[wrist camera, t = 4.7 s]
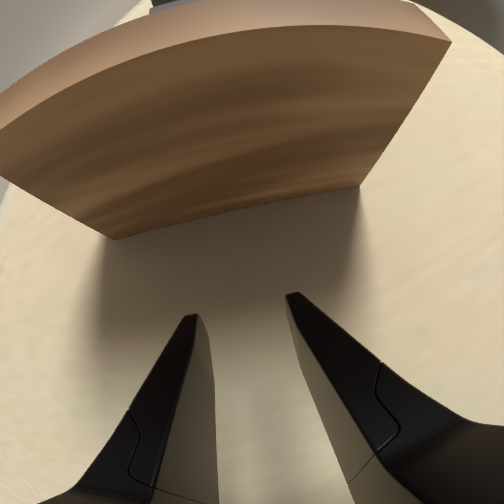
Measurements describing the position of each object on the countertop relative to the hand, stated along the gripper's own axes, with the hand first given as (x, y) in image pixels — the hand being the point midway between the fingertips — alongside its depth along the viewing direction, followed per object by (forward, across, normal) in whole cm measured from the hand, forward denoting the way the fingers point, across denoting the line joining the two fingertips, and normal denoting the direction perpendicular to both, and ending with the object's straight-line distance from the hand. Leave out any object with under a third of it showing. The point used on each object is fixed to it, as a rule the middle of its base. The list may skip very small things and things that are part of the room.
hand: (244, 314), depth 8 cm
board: (+11, 0, 0) cm, 11 cm away
